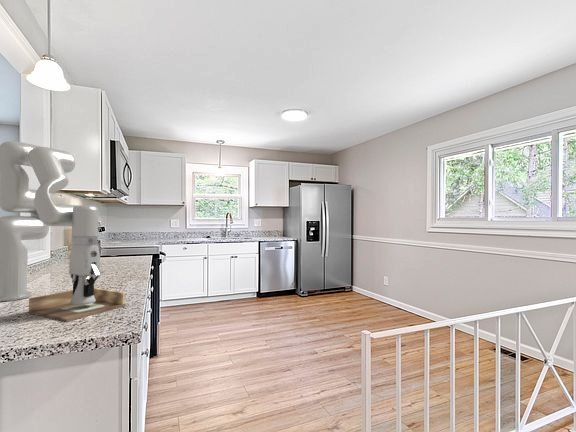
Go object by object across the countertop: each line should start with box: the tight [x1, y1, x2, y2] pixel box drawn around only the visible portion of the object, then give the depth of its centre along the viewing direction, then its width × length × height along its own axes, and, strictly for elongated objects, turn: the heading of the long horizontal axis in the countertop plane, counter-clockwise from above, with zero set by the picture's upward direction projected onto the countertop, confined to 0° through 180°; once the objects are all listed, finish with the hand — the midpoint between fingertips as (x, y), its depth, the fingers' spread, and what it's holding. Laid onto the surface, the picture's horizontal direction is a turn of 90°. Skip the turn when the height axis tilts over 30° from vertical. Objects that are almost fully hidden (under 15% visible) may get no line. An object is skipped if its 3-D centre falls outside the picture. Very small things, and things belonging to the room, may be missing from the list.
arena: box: [28, 287, 127, 323], centre depth 108 cm, size 20×20×5 cm
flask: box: [69, 274, 96, 305], centre depth 107 cm, size 7×7×10 cm
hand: (83, 294), depth 107 cm, fingers closed on flask, 4 cm apart
